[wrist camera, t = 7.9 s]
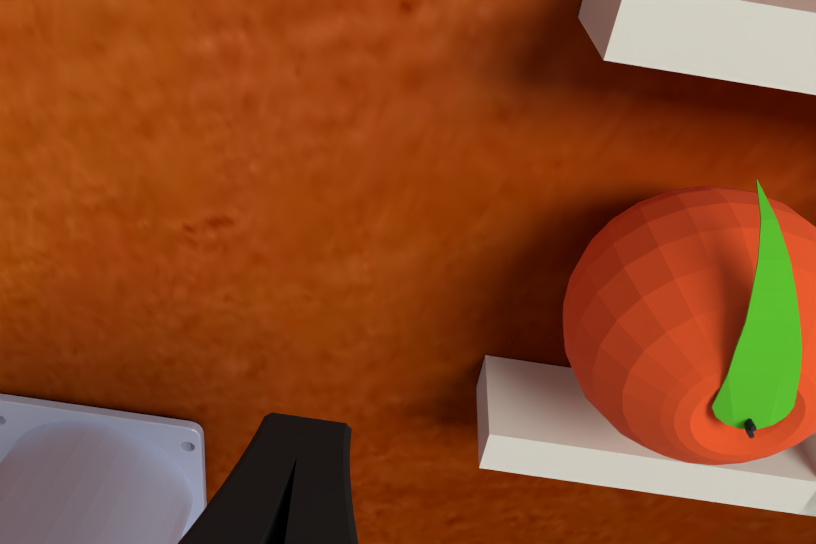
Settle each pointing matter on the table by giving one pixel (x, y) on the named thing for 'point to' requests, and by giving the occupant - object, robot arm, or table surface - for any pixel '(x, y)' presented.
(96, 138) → the table surface
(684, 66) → the holder
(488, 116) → the table surface
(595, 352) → the clementine
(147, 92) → the table surface
